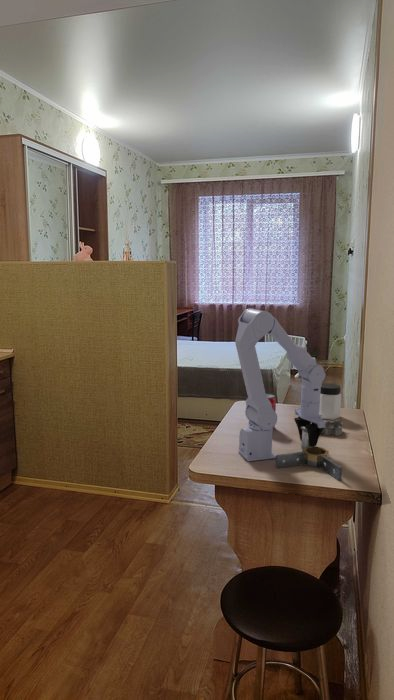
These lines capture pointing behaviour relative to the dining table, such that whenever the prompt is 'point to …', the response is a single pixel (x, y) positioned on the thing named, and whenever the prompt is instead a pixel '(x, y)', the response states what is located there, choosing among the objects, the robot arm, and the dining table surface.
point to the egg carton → (333, 427)
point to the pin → (304, 437)
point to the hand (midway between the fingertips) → (308, 443)
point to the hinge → (310, 460)
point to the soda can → (272, 401)
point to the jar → (330, 401)
